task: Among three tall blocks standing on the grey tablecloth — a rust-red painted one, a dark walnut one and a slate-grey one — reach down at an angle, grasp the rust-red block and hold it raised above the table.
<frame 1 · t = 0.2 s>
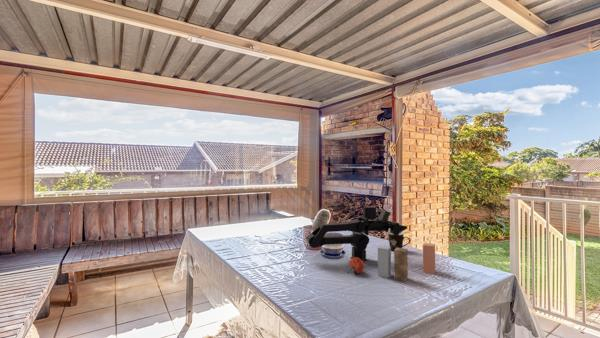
hand: (402, 225, 150), 17 cm above the table, tool horizontal, fingers open, 9 cm apart
rust block: (429, 271, 127), on the table
pomegranate: (355, 273, 127), on the table
slate block: (384, 275, 124), on the table
coffee mug: (397, 251, 160), on the table
walnut block: (401, 278, 120), on the table
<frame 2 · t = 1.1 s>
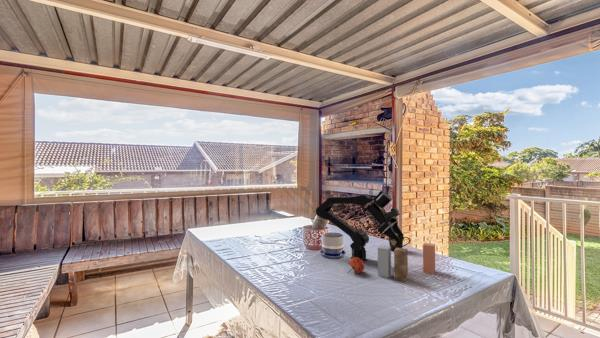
hand: (400, 238, 134), 14 cm above the table, tool tilted 45°, fingers open, 9 cm apart
nothing on the table moved.
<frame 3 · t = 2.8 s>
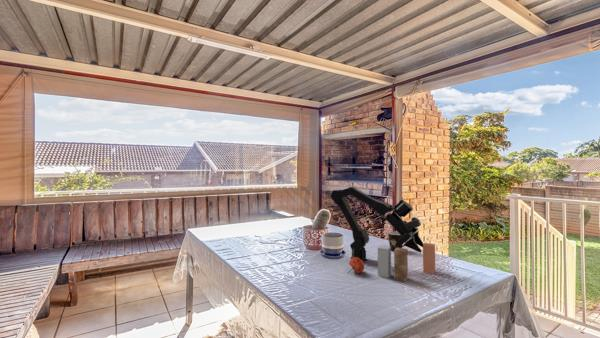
hand: (422, 249, 129), 10 cm above the table, tool tilted 45°, fingers open, 9 cm apart
nothing on the table moved.
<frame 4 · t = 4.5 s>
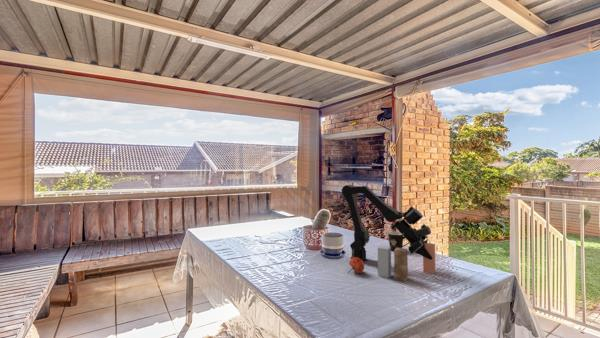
hand: (432, 257, 127), 7 cm above the table, tool tilted 45°, fingers closed on rust block, 4 cm apart
rust block: (429, 271, 127), on the table, touching gripper
everything else where it was.
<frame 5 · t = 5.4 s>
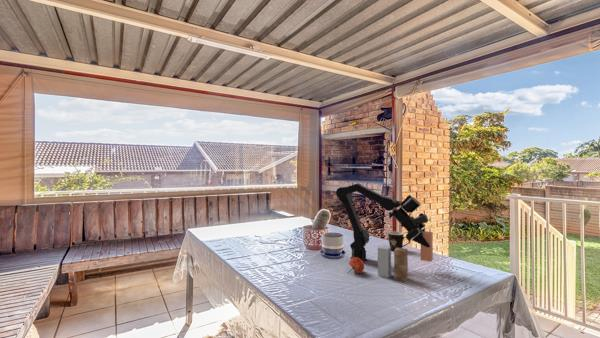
hand: (429, 245, 127), 12 cm above the table, tool tilted 45°, fingers closed on rust block, 4 cm apart
rust block: (426, 259, 128), point 5 cm above the table, touching gripper
everything else where it was.
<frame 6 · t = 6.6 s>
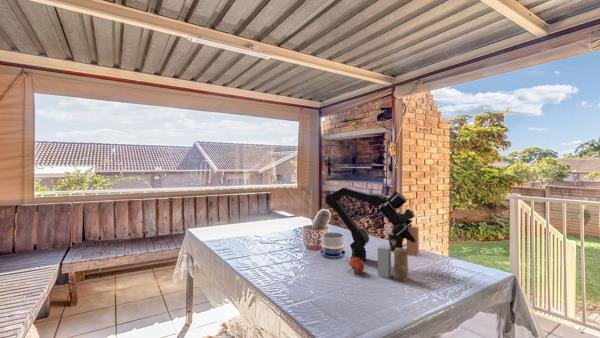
hand: (415, 240, 131), 13 cm above the table, tool tilted 45°, fingers closed on rust block, 4 cm apart
rust block: (412, 254, 131), point 7 cm above the table, touching gripper
everything else where it was.
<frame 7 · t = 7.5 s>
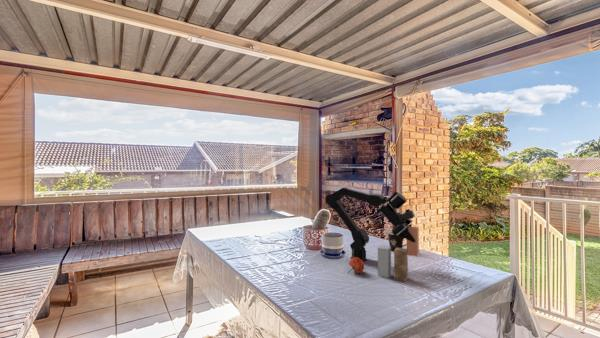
hand: (415, 240, 131), 13 cm above the table, tool tilted 45°, fingers closed on rust block, 4 cm apart
rust block: (412, 254, 131), point 7 cm above the table, touching gripper
everything else where it was.
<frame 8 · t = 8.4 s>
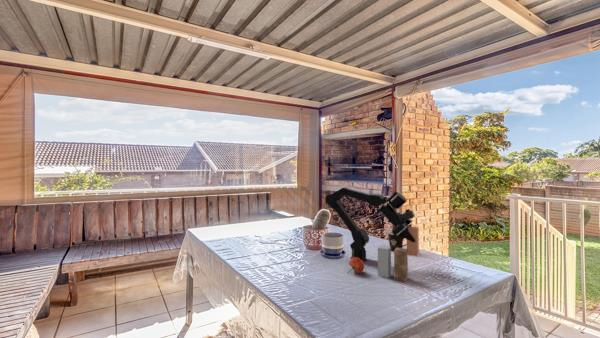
hand: (415, 240, 131), 13 cm above the table, tool tilted 45°, fingers closed on rust block, 4 cm apart
rust block: (412, 254, 131), point 7 cm above the table, touching gripper
everything else where it was.
at the end: the gripper is holding rust block; rust block point 6.9 cm above the table; walnut block moved 0.0 cm from its start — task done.
